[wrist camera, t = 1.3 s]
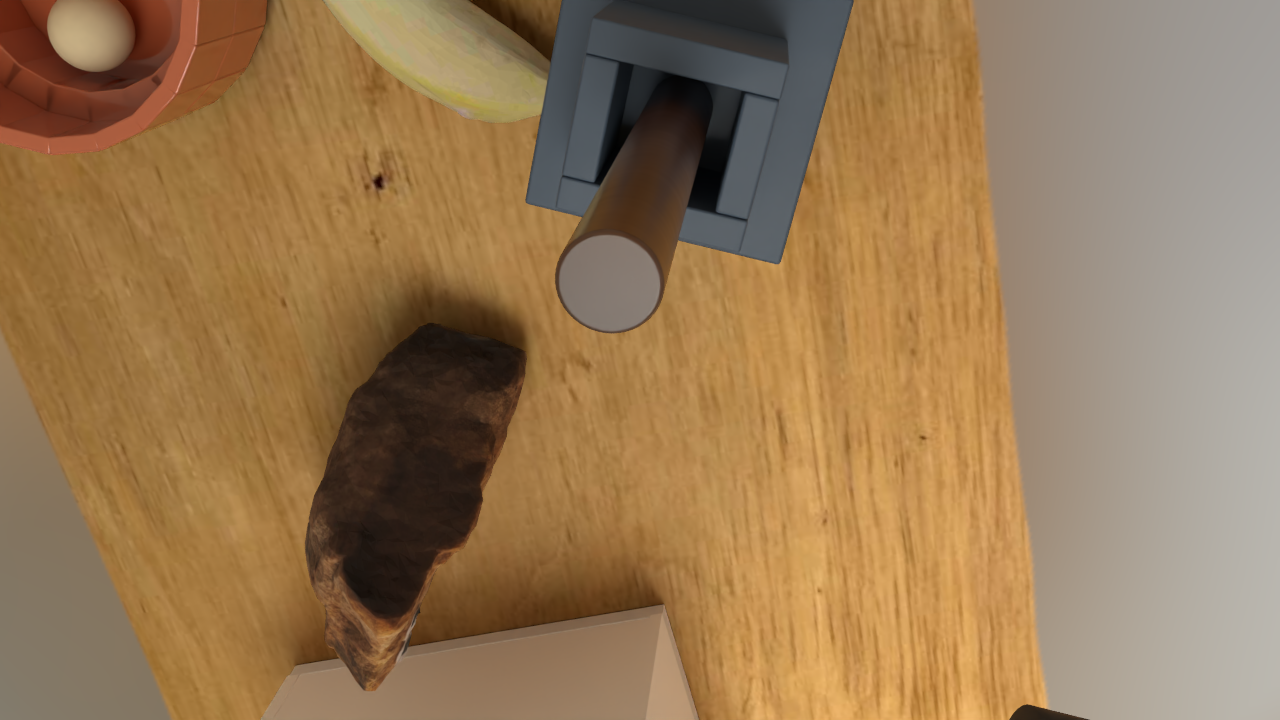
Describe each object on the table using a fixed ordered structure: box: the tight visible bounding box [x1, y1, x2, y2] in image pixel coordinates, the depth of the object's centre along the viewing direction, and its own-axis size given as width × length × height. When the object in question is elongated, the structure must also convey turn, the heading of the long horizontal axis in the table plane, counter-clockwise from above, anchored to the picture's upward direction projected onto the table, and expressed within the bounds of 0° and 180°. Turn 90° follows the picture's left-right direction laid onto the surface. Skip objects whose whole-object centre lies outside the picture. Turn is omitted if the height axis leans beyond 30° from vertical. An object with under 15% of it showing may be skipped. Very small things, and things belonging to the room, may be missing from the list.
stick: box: [555, 75, 713, 333], centre depth 23 cm, size 2×2×14 cm
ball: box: [47, 0, 136, 72], centre depth 41 cm, size 3×3×3 cm
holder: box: [526, 0, 854, 264], centre depth 33 cm, size 7×7×16 cm
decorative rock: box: [305, 323, 527, 691], centre depth 43 cm, size 12×6×11 cm, turn 154°
